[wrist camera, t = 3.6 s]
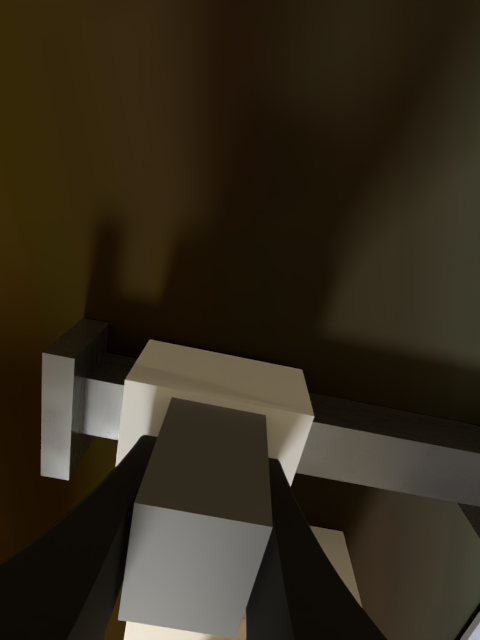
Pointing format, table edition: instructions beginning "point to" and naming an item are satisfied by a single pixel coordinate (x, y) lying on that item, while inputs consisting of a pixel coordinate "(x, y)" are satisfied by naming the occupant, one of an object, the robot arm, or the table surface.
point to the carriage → (205, 481)
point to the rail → (320, 448)
